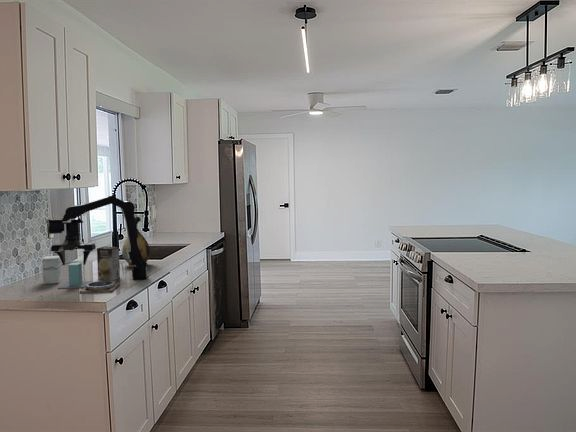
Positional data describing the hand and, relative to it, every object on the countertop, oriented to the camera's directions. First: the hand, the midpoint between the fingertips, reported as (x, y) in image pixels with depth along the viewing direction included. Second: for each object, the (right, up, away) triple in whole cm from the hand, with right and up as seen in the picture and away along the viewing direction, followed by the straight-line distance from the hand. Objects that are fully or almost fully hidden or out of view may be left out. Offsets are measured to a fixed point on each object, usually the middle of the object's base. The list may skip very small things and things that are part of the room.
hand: (74, 265), depth 219 cm
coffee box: (+11, -9, +15) cm, 21 cm away
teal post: (0, -9, +1) cm, 9 cm away
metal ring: (+15, -11, -6) cm, 19 cm away
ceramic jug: (+14, -6, +47) cm, 49 cm away
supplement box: (-15, -10, +8) cm, 19 cm away
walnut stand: (+15, -11, -6) cm, 19 cm away
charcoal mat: (0, -10, +1) cm, 10 cm away
